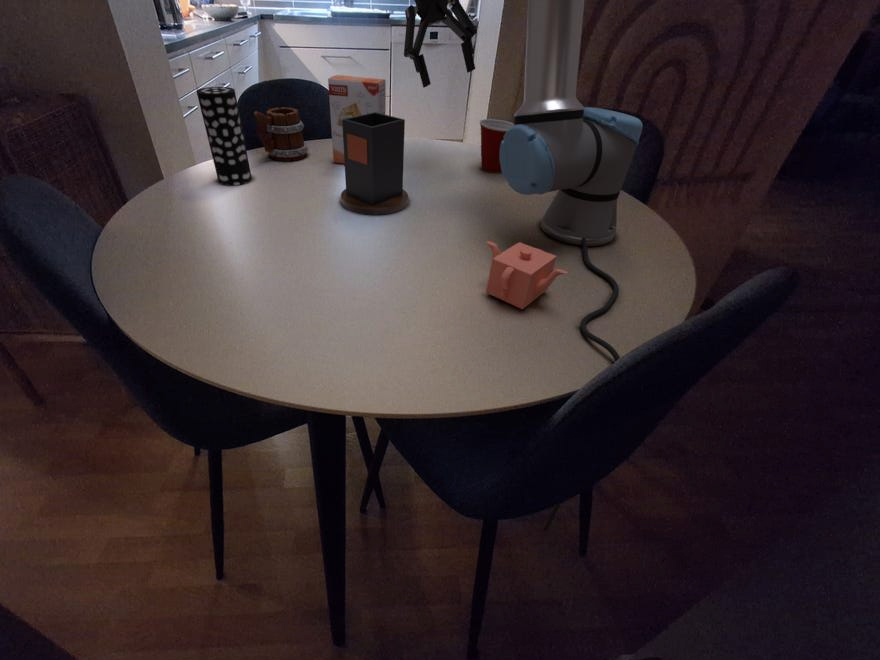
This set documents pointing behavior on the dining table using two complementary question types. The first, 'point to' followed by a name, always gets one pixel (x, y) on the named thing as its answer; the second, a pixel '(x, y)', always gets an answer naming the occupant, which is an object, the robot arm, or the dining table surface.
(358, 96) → the cracker box
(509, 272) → the teapot
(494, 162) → the plastic cup
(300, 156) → the mug
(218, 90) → the spotted tube
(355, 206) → the disc
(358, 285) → the dining table surface
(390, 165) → the bin
